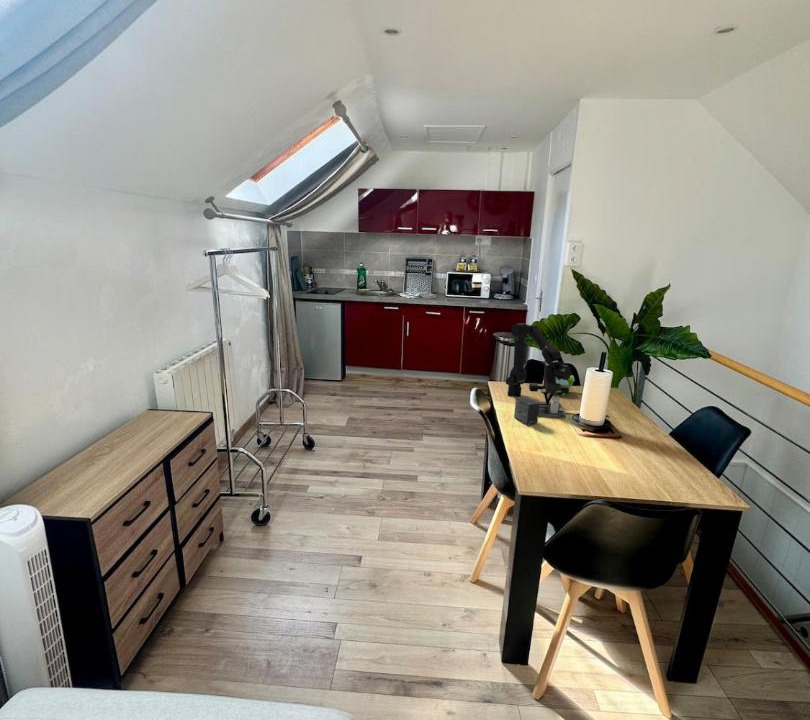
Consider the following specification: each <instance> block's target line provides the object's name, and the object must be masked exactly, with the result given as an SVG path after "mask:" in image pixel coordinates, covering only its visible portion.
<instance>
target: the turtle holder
mask: <svg viewBox="0 0 810 720" xmlns="http://www.w3.org/2000/svg"><path fill="white" fill-rule="evenodd" d="M575 381H576V379H575V376H574V375H572V374H571V376H570V378H569V379H568V380H563V379H560V378H557V377H556V383H557V384H561V385H567V386H568V388H569V389H570V388H572V386H573V384H574V382H575ZM543 382H544V379H543V381H542V383H543ZM556 393H561V395H562V396H565V395H566V394H563V393H562V392H561V391H556Z"/></svg>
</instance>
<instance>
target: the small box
mask: <svg viewBox="0 0 810 720" xmlns="http://www.w3.org/2000/svg"><path fill="white" fill-rule="evenodd" d="M536 401H537V400H534V399H532V398H530V397H528V396H520V397H515V402H514V403H515V404H514V405H515V406H514V416H513V419H515V420H517V421H518V422H521V424H523V425H524V426H534V425H537V424H538V420H539V416H538V413H539V404H540V403H538V402H536Z"/></svg>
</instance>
